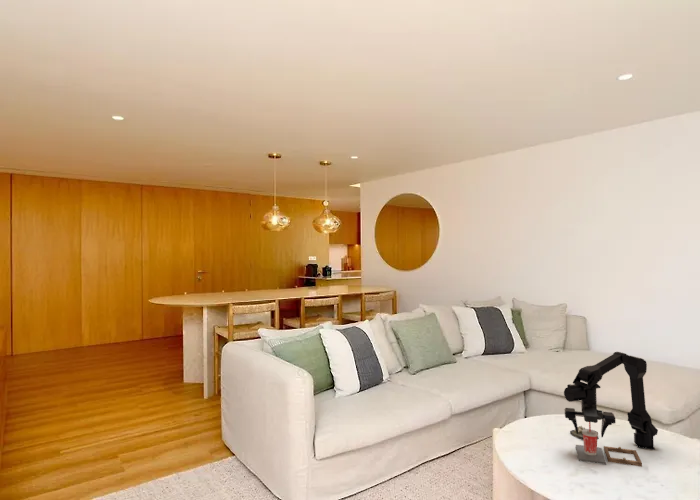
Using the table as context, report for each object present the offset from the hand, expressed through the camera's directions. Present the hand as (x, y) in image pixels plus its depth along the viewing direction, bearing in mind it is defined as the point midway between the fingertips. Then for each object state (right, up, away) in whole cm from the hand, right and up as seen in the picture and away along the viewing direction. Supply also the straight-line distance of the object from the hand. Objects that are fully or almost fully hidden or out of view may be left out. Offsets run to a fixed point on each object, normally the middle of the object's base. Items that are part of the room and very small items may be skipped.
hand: (589, 435), depth 189 cm
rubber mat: (0, -9, 0) cm, 9 cm away
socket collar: (+12, -8, -3) cm, 15 cm away
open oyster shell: (+8, -9, +19) cm, 23 cm away
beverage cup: (0, -8, 0) cm, 8 cm away
